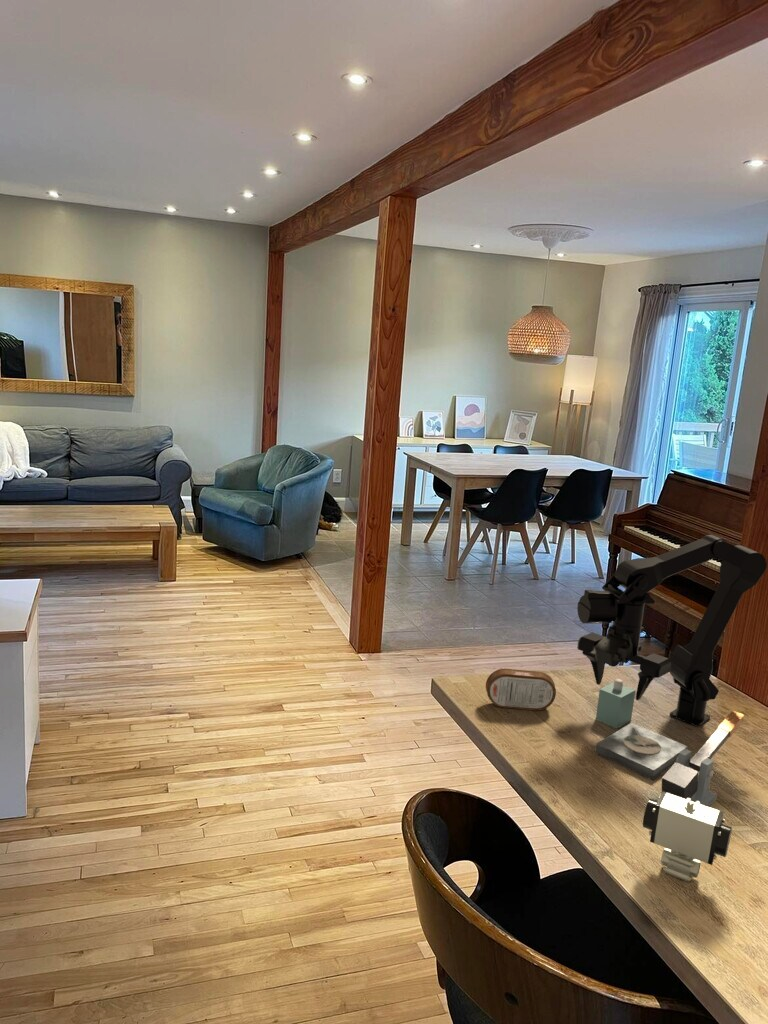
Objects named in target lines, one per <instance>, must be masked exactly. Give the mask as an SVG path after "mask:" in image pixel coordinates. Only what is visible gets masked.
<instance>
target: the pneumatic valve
mask: <svg viewBox="0 0 768 1024" xmlns="http://www.w3.org/2000/svg"><path fill="white" fill-rule="evenodd" d="M661 792H662V793H661V794H660V796H658V800H656V799H652V798H649V799H648V801H647V803H646V806H645V809H644V812H643V813H644V814H643V818H642V827H643V828H644V829H646V830H647V829H648V830H649V831H648V835H649V836H650V839H649V842H650V843H652V844H655V845H658V846H660V847H662V848H663V851H662V855H661V857H660V859H661V860H660V864H661V865H662V866H664V867H663V869H662V870H663V872H664V873H665V874H667V875H669V876H671V877H674V878H676V879H679V880H682V881H684V882H686V883H689V882H691V881H692V877H693V878H698V877H699V874H700V870H701V862H703V863H705V864H708V865H711V866H713V863H714V862H715V861H714V860H717V857H718V856H720V857H724V858H726V857H727V854H728V851H729V846H730V842H731V836H732V830H733V827H732V826H730V825H727V824H725V822H726V819H725V818H724V815H725V814H724V813H725V812H724V811H721V810H718V809H716V808H713V807H710V806H709V807H707V806H704V805H701V804H700V802H699V801H696V802H693V801H691V799H690V798H687V799H684V798H681V797H678V796H675V795H672V794H669V793H666V792H663V791H662V790H661Z"/></svg>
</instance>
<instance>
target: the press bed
mask: <svg viewBox="0 0 768 1024" xmlns="http://www.w3.org/2000/svg"><path fill="white" fill-rule="evenodd" d="M688 748H689V747H688V745H685V744H683V743H681V742H679V741H676V740H675V739H674V740H673V739H672V738H669V737H666V736H664V735H662V734H660V733H656V731H655V732H654V731H653V730H650V729H648V728H645V727H643V726H641V725H638V724H635V723H633V722H630V723H629V724H627V725H625V726H624V727H622V728H620V729H619V730H617V731H615V732H613V733H611V734H609V735H608V736H607V737H605V738H603V739H602V740H600V741H598V742H596V743H595V751H594V753H595V754H596V755H598V756H600V757H602V758H605V759H606V760H609V761H611V762H613V763H615V764H617V765H618V766H619V765H620V766H621V767H624V768H625V769H627V770H630V771H632V772H634V773H636V774H638V775H641V776H643V777H645V778H647V779H649V780H651V781H653V780H654V779H657V778H658V777H659V776H661V774H663V773H665V772H667V771H668V770H669V769H670V768H671V767H672V766H673V765H674V764H675V762H676V759H677V757H678V755H679V752H681V751H682V750H683V749H688Z"/></svg>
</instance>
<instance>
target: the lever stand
mask: <svg viewBox="0 0 768 1024" xmlns="http://www.w3.org/2000/svg"><path fill="white" fill-rule="evenodd" d="M691 757H692V750H689V749H688V748H687V749H683V750H682V751H681V752H679V755H678V757H677V759H676V762H677V763H679V764H682V765H684V766H686V767H688V768H690V767H689V761H690V760H691ZM713 767H714V760H713V759H712V758H711V759H709V758H706V759H705V760H703V761H702V762H701V766H700V771H698V786H697V792H696V793H695V794H694V795H693V797H692V798H691V801H693V802H696V801H699V802H700V804H701V805H704V806H707V807H710V806H711V805H712V804H714V803H715V802H716V800H717V796H718V794H717V793H716V792H712V791H711V790H710V784H711V778H713V775H714V770H713Z"/></svg>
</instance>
